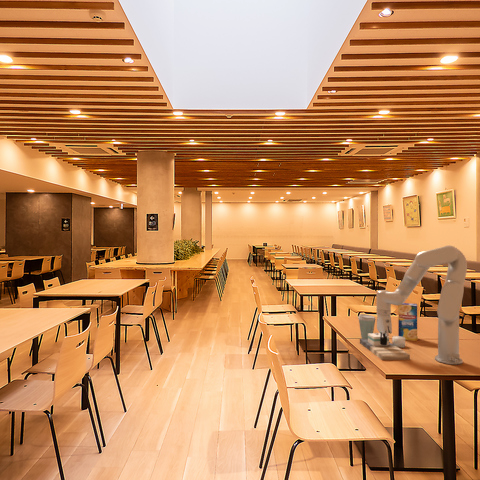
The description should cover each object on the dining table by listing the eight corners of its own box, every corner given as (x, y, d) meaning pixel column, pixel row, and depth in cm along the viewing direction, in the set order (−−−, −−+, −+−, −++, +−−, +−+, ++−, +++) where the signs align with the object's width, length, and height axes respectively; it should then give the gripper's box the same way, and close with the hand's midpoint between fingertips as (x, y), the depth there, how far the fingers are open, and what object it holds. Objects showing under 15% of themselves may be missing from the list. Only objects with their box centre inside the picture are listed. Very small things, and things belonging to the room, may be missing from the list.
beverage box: (417, 340, 231) (417, 305, 231) (398, 339, 235) (398, 304, 235) (417, 338, 237) (417, 303, 237) (398, 336, 242) (398, 302, 242)
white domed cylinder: (407, 347, 217) (407, 339, 217) (395, 347, 217) (395, 339, 217) (401, 344, 224) (401, 335, 224) (390, 344, 224) (390, 336, 224)
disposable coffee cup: (371, 336, 242) (371, 313, 242) (378, 341, 231) (378, 317, 231) (355, 336, 241) (355, 313, 241) (361, 341, 231) (361, 317, 231)
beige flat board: (409, 359, 195) (409, 354, 195) (381, 360, 195) (381, 355, 195) (383, 342, 227) (383, 338, 227) (359, 342, 227) (359, 338, 227)
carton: (389, 345, 213) (389, 335, 213) (373, 345, 212) (373, 336, 212) (382, 341, 221) (382, 332, 221) (367, 341, 220) (367, 332, 220)
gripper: (396, 314, 203) (396, 348, 203) (384, 309, 218) (384, 340, 218) (382, 315, 202) (382, 348, 202) (371, 309, 217) (371, 341, 217)
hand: (383, 344), depth 210 cm, fingers closed
